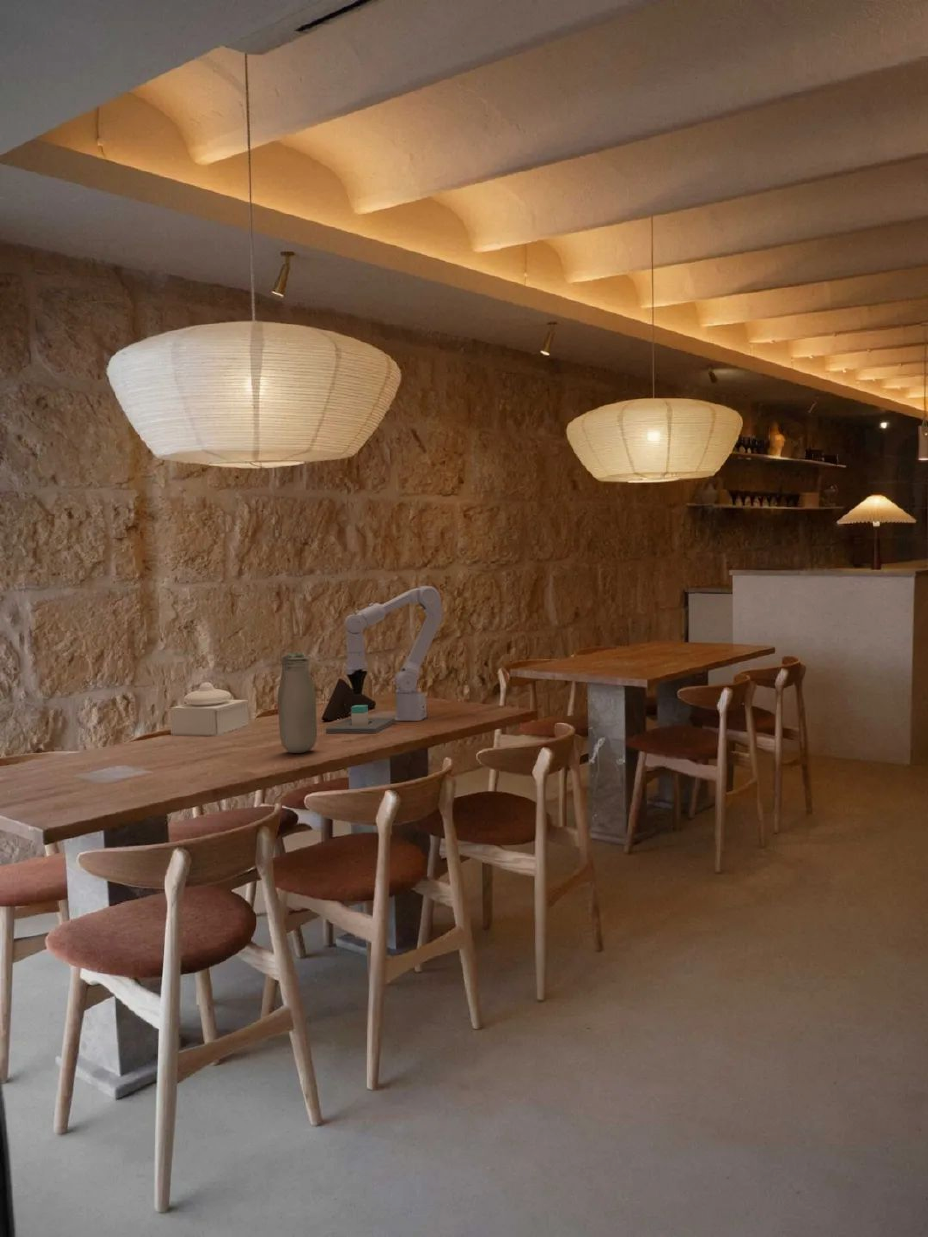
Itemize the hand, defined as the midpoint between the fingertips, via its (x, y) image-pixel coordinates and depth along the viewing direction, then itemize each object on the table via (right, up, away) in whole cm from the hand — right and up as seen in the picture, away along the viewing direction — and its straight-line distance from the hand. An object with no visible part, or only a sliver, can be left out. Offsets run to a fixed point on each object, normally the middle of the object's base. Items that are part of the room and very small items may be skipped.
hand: (358, 694), depth 319 cm
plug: (+2, -10, -9) cm, 14 cm away
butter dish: (-47, -12, 0) cm, 49 cm away
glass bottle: (-11, -13, -44) cm, 47 cm away
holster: (-4, -9, +18) cm, 21 cm away
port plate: (+2, -10, -9) cm, 14 cm away
